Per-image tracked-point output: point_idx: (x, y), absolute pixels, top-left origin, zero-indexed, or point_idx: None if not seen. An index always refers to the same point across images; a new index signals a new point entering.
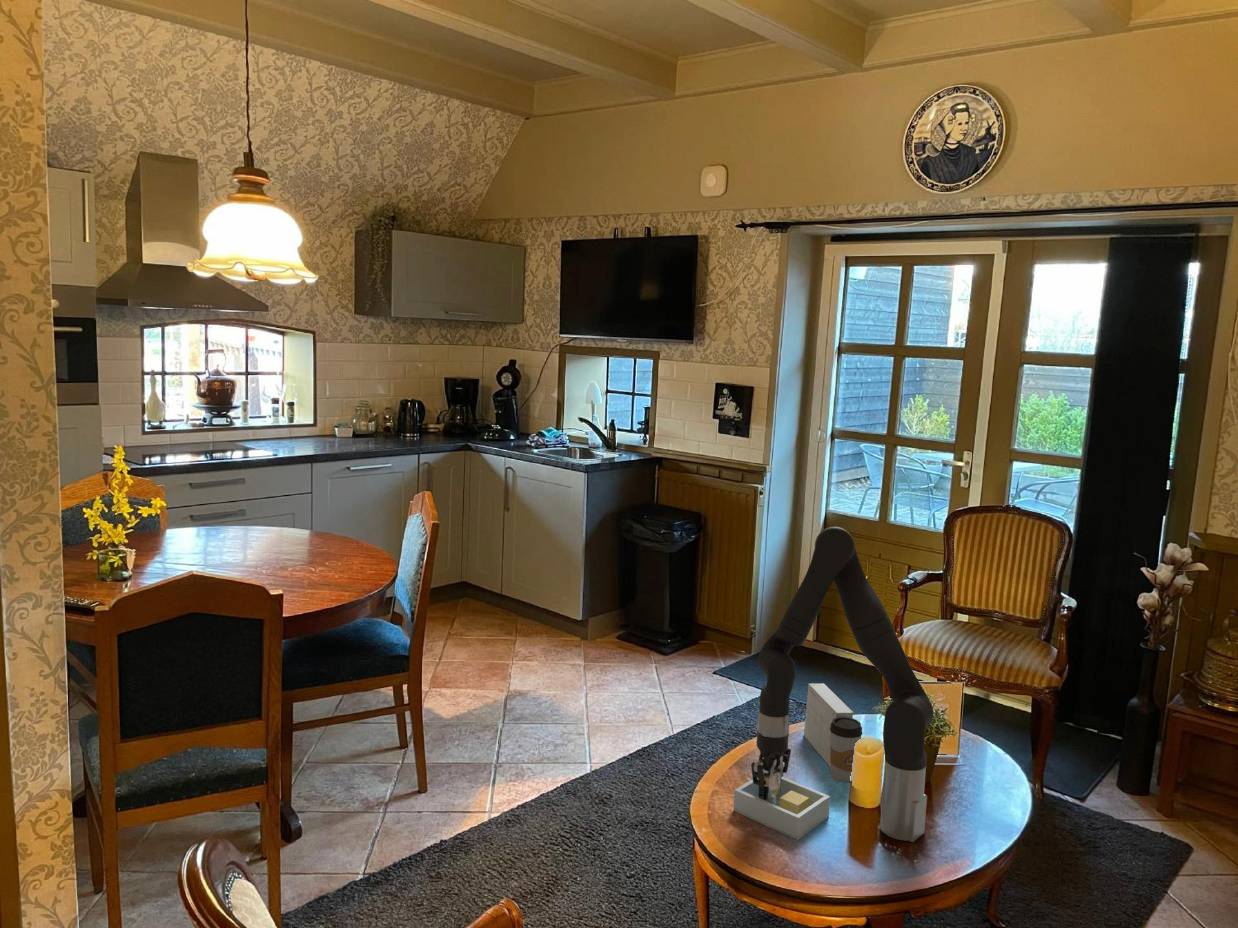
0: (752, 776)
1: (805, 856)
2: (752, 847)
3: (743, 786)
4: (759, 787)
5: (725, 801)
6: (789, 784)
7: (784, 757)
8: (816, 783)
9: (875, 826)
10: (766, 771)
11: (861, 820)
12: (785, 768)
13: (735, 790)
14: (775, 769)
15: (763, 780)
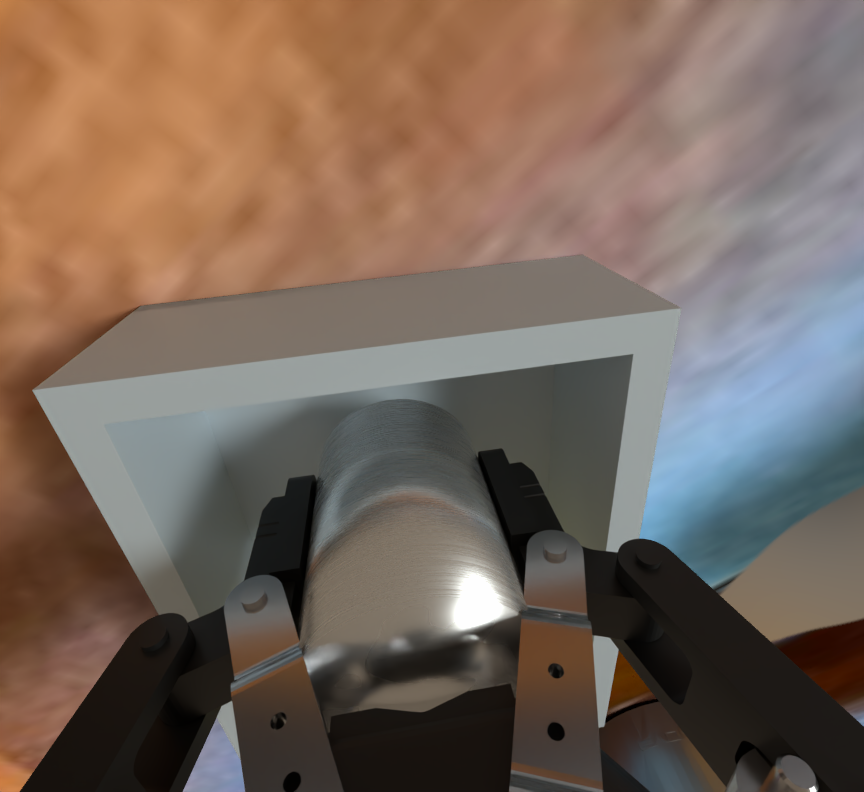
0: (59, 735)
1: (218, 727)
2: (9, 619)
3: (191, 392)
4: (249, 576)
5: (172, 147)
6: (596, 529)
7: (735, 763)
8: (860, 390)
9: (617, 701)
10: (379, 669)
11: (625, 666)
12: (632, 658)
13: (42, 400)
14: (510, 673)
15: (188, 757)
